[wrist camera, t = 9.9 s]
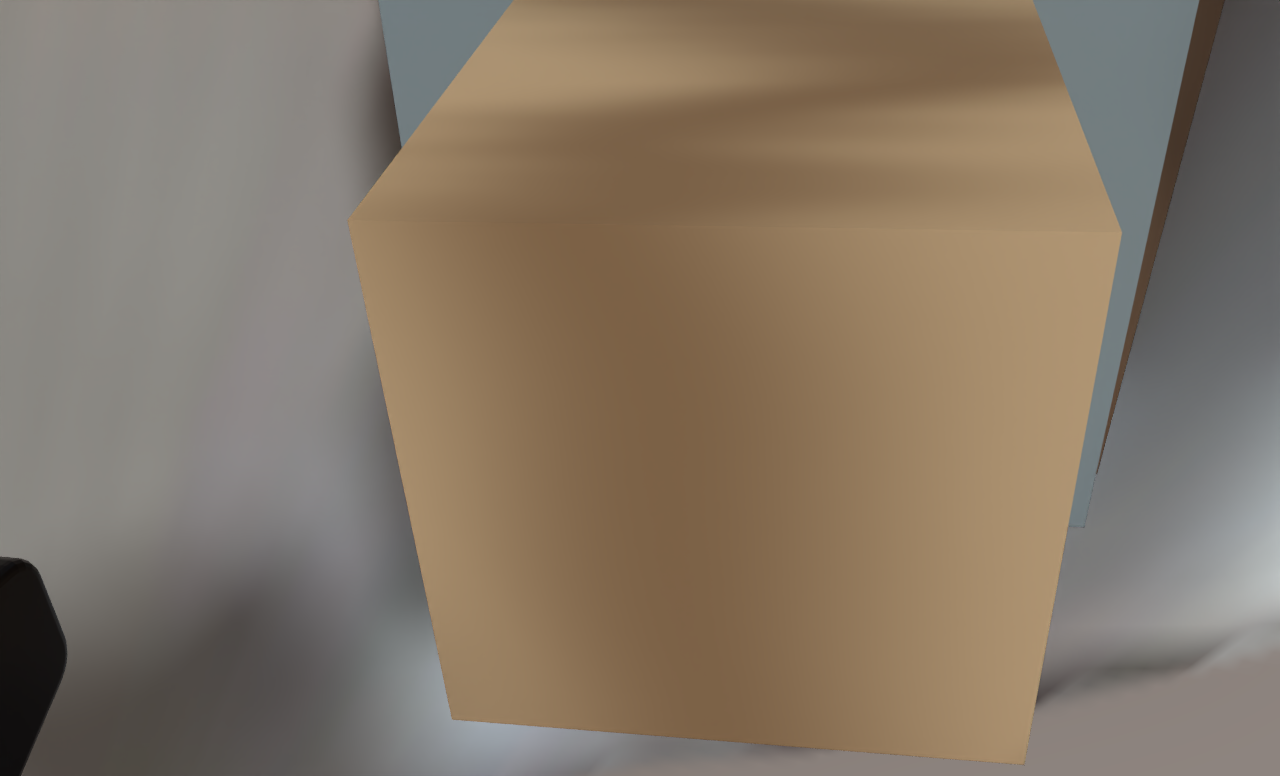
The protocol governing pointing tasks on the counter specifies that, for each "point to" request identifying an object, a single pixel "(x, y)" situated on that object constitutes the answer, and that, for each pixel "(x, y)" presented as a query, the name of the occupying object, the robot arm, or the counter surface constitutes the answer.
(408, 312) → the oak block
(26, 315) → the counter surface
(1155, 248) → the tower base
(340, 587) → the counter surface
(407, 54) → the tower top
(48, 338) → the counter surface
